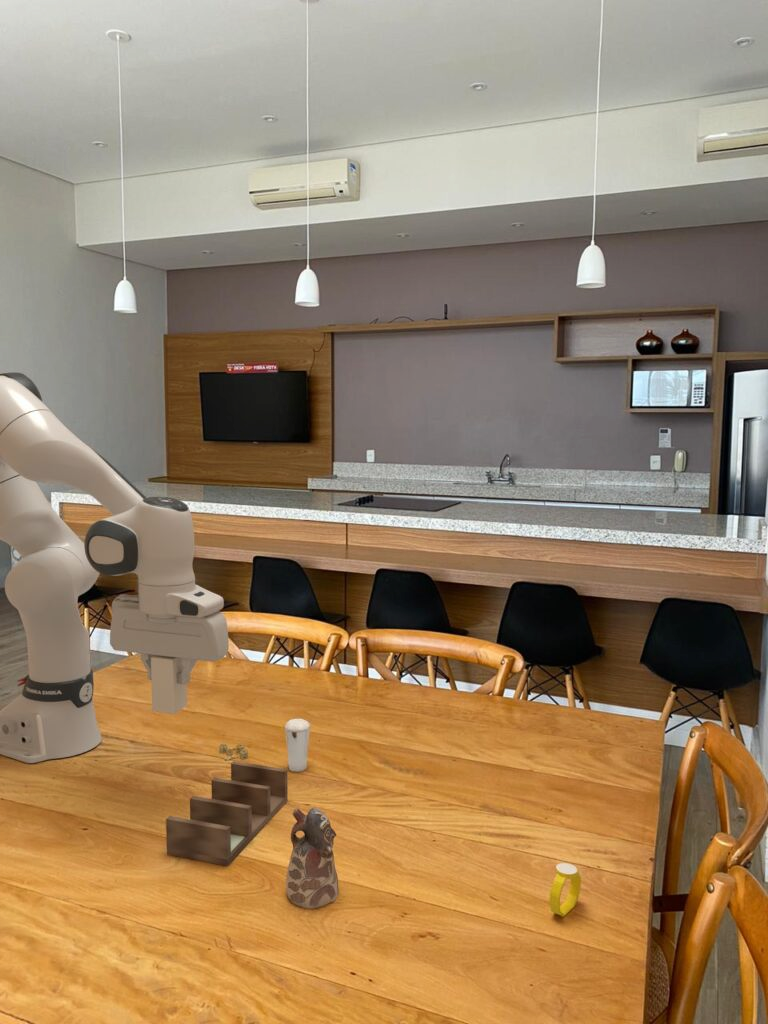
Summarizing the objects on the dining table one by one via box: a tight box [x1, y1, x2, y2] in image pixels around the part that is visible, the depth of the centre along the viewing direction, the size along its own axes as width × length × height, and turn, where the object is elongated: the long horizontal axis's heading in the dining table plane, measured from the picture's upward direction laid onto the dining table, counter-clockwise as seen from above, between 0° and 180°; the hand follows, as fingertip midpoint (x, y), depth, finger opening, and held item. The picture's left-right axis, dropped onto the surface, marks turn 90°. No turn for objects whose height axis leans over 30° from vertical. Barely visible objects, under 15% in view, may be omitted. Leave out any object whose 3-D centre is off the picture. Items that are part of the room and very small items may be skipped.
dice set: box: [219, 743, 249, 762], centre depth 152 cm, size 5×5×2 cm
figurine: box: [285, 807, 340, 910], centre depth 108 cm, size 7×7×12 cm
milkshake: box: [284, 716, 314, 773], centre depth 146 cm, size 4×5×10 cm
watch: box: [548, 862, 582, 918], centre depth 105 cm, size 6×3×6 cm, turn 139°
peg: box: [150, 655, 188, 715], centre depth 131 cm, size 4×4×9 cm
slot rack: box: [165, 760, 289, 867], centre depth 126 cm, size 10×21×6 cm, turn 163°
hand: (169, 681), depth 131 cm, fingers closed on peg, 4 cm apart
